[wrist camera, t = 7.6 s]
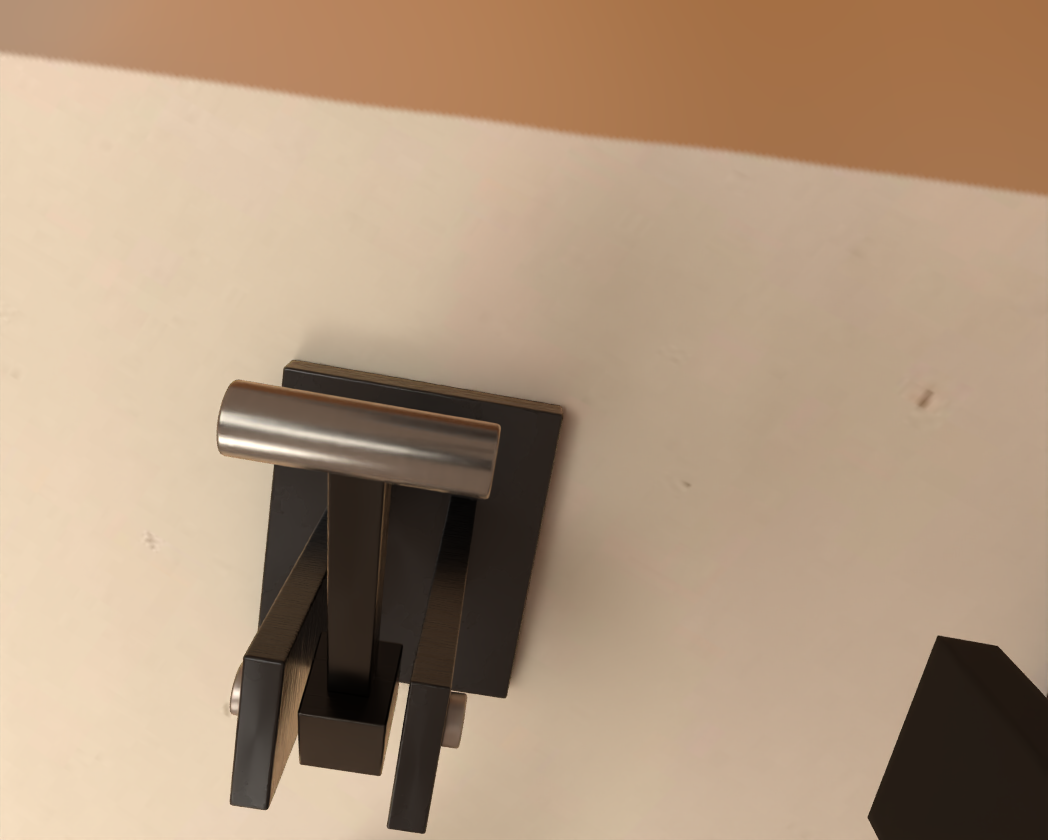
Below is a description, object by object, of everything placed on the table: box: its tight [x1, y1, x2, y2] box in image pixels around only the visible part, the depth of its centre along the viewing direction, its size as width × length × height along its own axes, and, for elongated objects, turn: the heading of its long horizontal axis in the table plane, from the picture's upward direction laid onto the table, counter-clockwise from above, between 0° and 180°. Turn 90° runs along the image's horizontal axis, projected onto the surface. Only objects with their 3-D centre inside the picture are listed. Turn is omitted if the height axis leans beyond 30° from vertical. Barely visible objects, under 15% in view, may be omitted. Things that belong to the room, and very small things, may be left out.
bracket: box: [230, 360, 563, 834], centre depth 27 cm, size 12×10×13 cm
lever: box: [217, 380, 501, 776], centre depth 20 cm, size 12×5×2 cm, turn 170°
